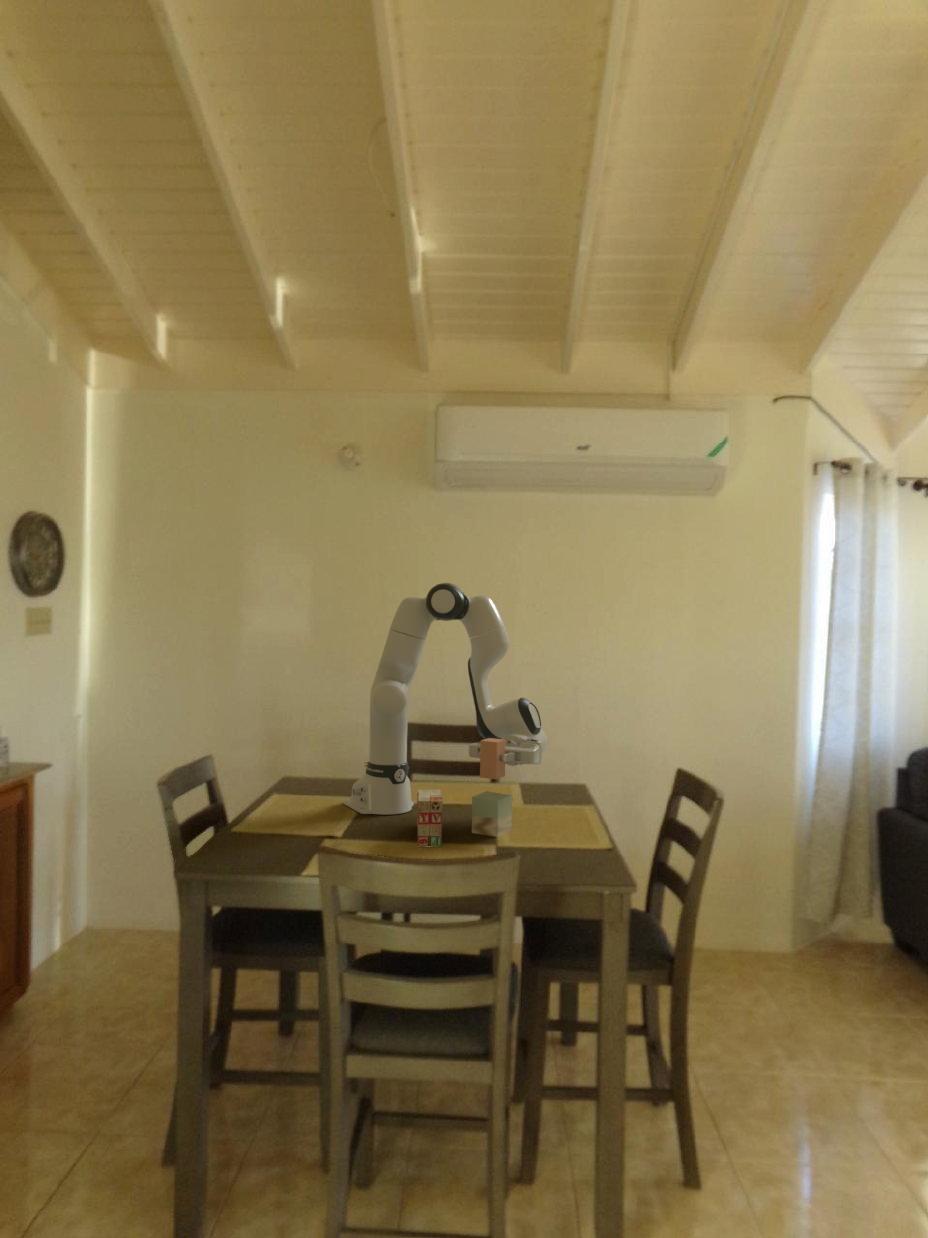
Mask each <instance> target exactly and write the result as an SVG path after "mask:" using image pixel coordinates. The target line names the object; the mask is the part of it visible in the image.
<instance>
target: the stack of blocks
mask: <svg viewBox="0 0 928 1238" xmlns="http://www.w3.org/2000/svg"><path fill="white" fill-rule="evenodd" d="M442 795H443V794H442V791H441V789H417V792H416V796H417V797H416V798H417V799H416V804H417V805H416V808H417V809H416V810H417V811H416V813H417V817H416V820H417V823H416V824H417V825H416V827H417V828H416V830H417V832H416V834H417V837H416V838H417V839H416V840H417V841H416V842H417V846H441V847H442V837H443V836H442V833H443V832H442V828H443V826H442V825H443V796H442ZM417 846H416V847H417Z"/></svg>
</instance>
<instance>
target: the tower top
mask: <svg viewBox="0 0 928 1238" xmlns="http://www.w3.org/2000/svg"><path fill="white" fill-rule="evenodd" d="M511 813H512V814H513V795H512V794H507V793H501V792H494V791H488V790H487V791H484V792H481V793H479V794H476V795H473V796H472V797H471V816H472V815H475V816H480V817H486V818H492V819H500V818H502V817H504V816H507V815H509V814H511Z"/></svg>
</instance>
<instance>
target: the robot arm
mask: <svg viewBox="0 0 928 1238" xmlns="http://www.w3.org/2000/svg"><path fill="white" fill-rule="evenodd" d="M453 620H454V621H455V620H456V621H457V620H458V621H460V622H461V623H462V624H463V625H464V628H465V630H466V633H467V635H468V638H469V641H470V646H471V647H470V648H471V655H470V657H469V658H468V660H467V668H468V669H467V671H468V676H469V683H470V687H471V693H472V694H471V695H472V698H473V703H474V709H475V720H476V721H475V722H476V728H477V732H478V734H479V735H480V737H481V738H483V740H484V739H488V738H493V739H503V740H505V754H501V755H500V759H499V760H500V761H503V762H505V765H507V766H510V767H511V766H512V767H515V766H522V765H541V764H542V758H543V754H544V752H545V751H546V749H547V748H548V743H549V741H548V736H547V734H546V732H545V731H544V730H543V729H542V722H541V721H542V720H541V717H540V712H539V710H538V708H537V706H536V705H535V704H534V703H532V701H530V700H529V699H528V698H525V697H519V698H516V699H514V700H510V701H507V702H505V703H502V704H499V705H495V706H494V705H493V702H492V698H491V694H490V689H489V684H488V683H489V681H488V678H489V677H488V676H489V674H490V672H491V671H492V669H493V668H494V667H495V666H496V665H497V664H499V662H500V661H502V659H503V658H504V657H505V656H506V654H507V652H508V651H509V648H510V638H509V632H508V631H507V628H506V626H505V623H504V620H503V618H502V616H501V613H500V612H499V609H498V608H497V606H496V604H495V603H494V600H492V598H491V597H489V596H486V595H476V596H472V597H468V596H467V595H466V594H465V592H464V591H463V590H462V589H461V588H460V587H459V586H458V585H456V584H454V583H450V582H443V583H439V584H436V585H434V586H433V587H431V588H430V589H429V591H428V592H427V594H426V597H424V598H423V597H417V596H409V597H405V598H403V600H401V602H400V603H399V605H398V607H397V610H396V612H395V614H394V617H393V619H392V620H391V621H392V622H391V624H390V627H389V631H388V634H387V637H386V640H385V643H384V647H383V650H382V654H381V658H380V660H379V662H378V666H377V670H376V672H375V676H374V679H373V681H372V682H373V683H372V686H371V689H370V693H369V694H370V695H369V760H368V761H367V762H364V767H366V769H365V772H364V773H365V774H364V775H362V777H360V778H359V779H357V780H356V781H355V782H354V783H353V784H352V787H351V797H349V798H346V799H345V800H343V805H345V806H346V807H349V808H350V809H352V810H354V811H356V812H357V813H359V814H361V815H371V814H372V815H398V814H404V813H408V812H410V811H412V809H413V808H412V807H414V804H415V803H414V801H412V794H411V793H412V792H411V779H410V778H409V777H408V774H409V762H408V758H407V757H408V723H409V721H408V720H409V693H410V689H411V686H412V683H413V680H414V678H415V675H416V671H417V669H418V666H419V663H420V660H421V657H422V654H423V649H424V646H425V643H426V639H427V637H428V632H429V630H430V628H431V625H432V624H433V622H435V621H442V622H443V621H444V622H449V621H450V622H451V621H453ZM468 756H469V758H474V759H479V760H480V741H479V742H474V743H470V744H469V745H468Z"/></svg>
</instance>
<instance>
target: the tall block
mask: <svg viewBox="0 0 928 1238" xmlns="http://www.w3.org/2000/svg"><path fill="white" fill-rule="evenodd" d="M479 742H480V759H479V778H482V779H489V780H499V779H502V778H505V777H506V764H505V762H503V761H500V760H499V759H500V755H501V754H505V740H503V739H493V738H488V739H484V738H483V739H482V740H480V741H479Z"/></svg>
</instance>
